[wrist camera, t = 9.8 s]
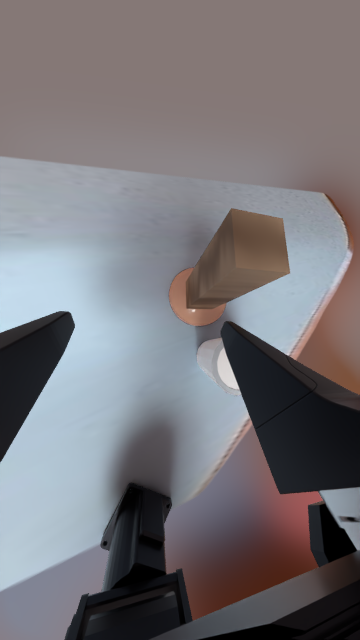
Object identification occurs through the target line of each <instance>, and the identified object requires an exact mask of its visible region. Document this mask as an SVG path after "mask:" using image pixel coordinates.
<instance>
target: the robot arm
mask: <svg viewBox="0 0 360 640" xmlns="http://www.w3.org/2000/svg"><path fill="white" fill-rule="evenodd" d="M74 328H75V324H74V321H73V318H72V315H71V313H70V312H66V311H59V312H56V313H53V314H50V315H48V316H45V317H42V318H40V319H37V320H34V321H31V322H29V323H26V324H23V325H21V326H18V327H15V328H12V329H10V330H7V331H4V332H2V333H0V462H1V461H2V459H3V457H4V456H5V454H6V452H7V450H8V449H9V447H10V445H11V444H12V442H13V440H14V438H15V437H16V435H17V433H18V431H19V430H20V428H21V426H22V425H23V423H24V421H25V419H26V418H27V416H28V414H29V412H30V411H31V409H32V407H33V406H34V404H35V402H36V400H37V399H38V397H39V395H40V393H41V392H42V390H43V388H44V387H45V385H46V383H47V381H48V380H49V378H50V376H51V374H52V373H53V371H54V369H55V368H56V366H57V364H58V362H59V361H60V359H61V357H62V355H63V353H64V351H65V349H66V347H67V345H68V342H69V340H70V338H71V335H72V333H73V331H74ZM221 337H222V341H223V345H224V349H225V352H226V355H227V358H228V361H229V363H230V366H231V368H232V371H233V374H234V376H235V379H236V381H237V384H238V387H239V389H240V392H241V395H242V397H243V400H244V402H245V405H246V408H247V410H248V413H249V415H250V418H251V421H252V423H253V426H254V428H255V431H256V434H257V436H258V439H259V442H260V444H261V447H262V449H263V452H264V455H265V457H266V460H267V463H268V465H269V468H270V470H271V473H272V476H273V478H274V481H275V483H276V486H277V488H278V491H279V493H280V494H289V493H301V492H312V491H318V492H319V494H320V496H321V498H322V499H323V501H321V502H317V503H314V504H310V505H308V514H309V531H310V547H311V551H312V553H313V555H314V558H315V560H316V562H317V564H318V566H319V568H316V569H314V570H311V571H309V572H307V573H305V574H302V575H300V576H297V577H295V578H293V579H291V580H288V581H286V582H283V583H281V584H279V585H276V586H274V587H272V588H269V589H267V590H265V591H262V592H260V593H258V594H255V595H253V596H250V597H248V598H246V599H244V600H241V601H239V602H236V603H234V604H232V605H229V606H227V607H225V608H222V609H220V610H218V611H215V612H213V613H210V614H208V615H206V616H203V617H201V618H199V619H196V620H194V621H193V620H192V616H191V611H190V606H189V601H188V596H187V592H186V586H185V582H184V577H183V572H182V569H177V570H176V572H173V573H170V574H166V560H165V544H164V541H165V531H164V523H165V521H166V518H167V516H168V513H169V511H170V509H171V506H172V502H171V499H170V498H169V497H166V496H164V495H161V494H159V493H156V492H154V491H151V490H149V489H146V488H144V487H141V486H139V485H136V484H134V483H131V484H129V485H128V487H127V489H126V491H125V493H124V495H123V497H122V499H121V501H120V503H119V505H118V507H117V509H116V511H115V513H114V515H113V517H112V519H111V521H110V523H109V525H108V527H107V529H106V531H105V533H104V535H103V537H102V541H101V548H103V549H106V550H109V556H108V561H107V566H106V571H105V577H104V582H103V587H102V592H100V593H96V594H92V595H89V593H88V594H84V595H82V597H81V600H80V603H79V606H78V609H77V612H76V614H75V615H74V617H73V619H72V622H71V625H70V626H69V628H68V630H67V633H66V636H65V640H360V395H358V394H356V393H354V392H351V391H350V390H348V389H346V388H344V387H342V386H340V385H338V384H336V383H335V382H333V381H331V380H329V379H327V378H326V377H324V376H322V375H320V374H319V373H317V372H315V371H313V370H311V369H310V368H308V367H306V366H304V365H303V364H301V363H299V362H298V361H296V360H294V359H293V358H291V357H289V356H288V355H285V354H284V353H283V352H281V351H279V350H278V349H276V348H274V347H273V346H271V345H269V344H268V343H266V342H265V341H263V340H261V339H260V338H258V337H256V336H255V335H253V334H251V333H250V332H248V331H246V330H245V329H243V328H241V327H240V326H238V325H237V324H235V323H233V322H231V321H226V322H225V323H224V325H223V327H222V329H221ZM130 489H132V490H130ZM168 503H169V504H168Z"/></svg>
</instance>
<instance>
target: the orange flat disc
mask: <svg viewBox="0 0 360 640" xmlns="http://www.w3.org/2000/svg"><path fill="white" fill-rule="evenodd" d="M193 269H194V268H189V269H186V270H184V271H182V272H180V273H179V274H178V275H177V276H176V277H175V278H174V280H173V282H172V284H171V287H170V290H169V301H170V305H171V308H172V310H173V312H174V313H175V314H176V316H177V317H178V318H179V319H180V320H182V321H183V322H185V323H187V324H190V325H193V326H204V325H208V324H211V323H213V322H215V321H216V320H217V319H218V318H219V317H220V316H221V315H222V313H223V312H224V309H225V306H226V303H225V304H222V305H220V306H218V307H216V308H214V309H186V281H187V279H188V278H189V276H190V274H191V273H192V271H193Z"/></svg>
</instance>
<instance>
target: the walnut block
mask: <svg viewBox="0 0 360 640" xmlns="http://www.w3.org/2000/svg"><path fill="white" fill-rule="evenodd" d="M289 273H290V269H289V261H288V254H287V246H286V239H285V232H284V224H283V219H282V218H277V217H272V216H267V215H262V214H257V213H252V212H247V211H242V210H237V209H232V208H231V210H230V211H229V213H228V214H227V216H226V218H225V219H224V221H223V223H222V224H221V226H220V227H219V229H218V231H217V232H216V234H215V235H214V237H213V239H212V240H211V242H210V244H209V245H208V247H207V248H206V250H205V252H204V253H203V255H202V256H201V258H200V260H199V261H198V263H197V265H196V266H195V268H194V269H193V271H192V273H191V274H190V276H189V278H188V279H187V281H186V309H214V308H216V307H218V306H220V305H222V304H225V303H227V302H229V301H231V300H233V299H235V298H237V297H240V296H242V295H244V294H246V293H248V292H250V291H252V290H255V289H257V288H259V287H261V286H263V285H265V284H268V283H270V282H272V281H274V280H276V279H278V278H280V277H283V276H285V275H287V274H289Z"/></svg>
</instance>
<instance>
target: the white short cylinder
mask: <svg viewBox="0 0 360 640" xmlns="http://www.w3.org/2000/svg"><path fill="white" fill-rule="evenodd" d="M197 362H198V365H199V367H200V368H201V369H202V370H203V371H204V372H205V373H206V374H207V375H208V376H209V377H210V378H211V379H212V380H213V381H214V382H215V383H216V384H217V385H218V386H219V387H221V388H222V389H223V390H224V391H225V392H226V393H229V394H232V395H235V396H239V395H241V392H240V389H239V387H238V384H237V381H236V379H235V376H234V374H233V371H232V368H231V366H230V363H229V361H228V358H227V355H226V352H225V349H224V345H223V341H222V338H217V339H211V340H208V341H206V342H204V343H202V344H201V346H200V347H199V348H198V352H197Z"/></svg>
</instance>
